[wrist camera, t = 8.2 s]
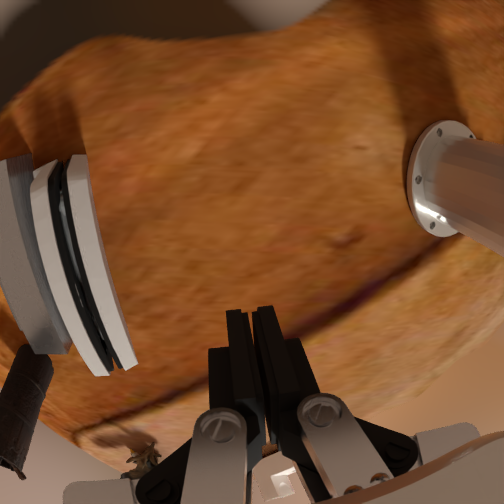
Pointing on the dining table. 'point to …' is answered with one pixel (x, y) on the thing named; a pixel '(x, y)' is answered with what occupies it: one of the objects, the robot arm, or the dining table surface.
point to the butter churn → (22, 405)
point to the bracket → (274, 476)
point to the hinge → (79, 264)
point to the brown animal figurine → (141, 463)
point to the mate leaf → (26, 263)
